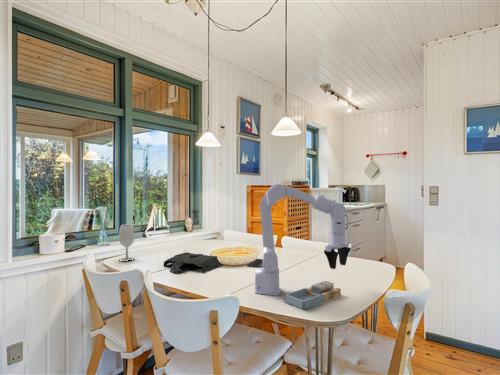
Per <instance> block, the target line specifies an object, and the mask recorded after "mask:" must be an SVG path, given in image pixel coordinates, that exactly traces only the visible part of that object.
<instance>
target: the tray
mask: <svg viewBox="0 0 500 375" xmlns="http://www.w3.org/2000/svg"><path fill="white" fill-rule="evenodd" d="M306 288H307V287H304V288H301V289H297V290H295V291H292V292H288V293H285V295H284V303H285V304H288V305H289V306H292V307H295V308H296V309H297V308H298V309H300V310H302V311H306V310H307V309H310V308H313V307H315V306H319V305H321V304H323V303H325V302H324V294H320V295H318V296H315V297H313V296H310V295H307V294H306Z"/></svg>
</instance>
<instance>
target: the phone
mask: <svg viewBox="0 0 500 375" xmlns="http://www.w3.org/2000/svg"><path fill="white" fill-rule="evenodd" d="M254 260H255V259H254ZM254 260H252V261H253V262H252V261H251V262H249V263H247V264H246V266H247V268H256V269H261V268H262V267H263V266H262V262H263V258H262V259H261V258H256V260H255V261H254Z"/></svg>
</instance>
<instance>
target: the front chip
mask: <svg viewBox="0 0 500 375" xmlns="http://www.w3.org/2000/svg"><path fill="white" fill-rule="evenodd" d="M311 287H312V293H313V294H316V295H320V294H322V293H324V292H327V289H326V285H323V284H320V282H317V283H314V284H311Z"/></svg>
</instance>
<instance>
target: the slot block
mask: <svg viewBox="0 0 500 375" xmlns="http://www.w3.org/2000/svg"><path fill="white" fill-rule="evenodd" d="M305 288H306V294H307V295H310V296H313V297H315V296H318V295H316V294H313V293H312V286H309V287H305ZM322 294H324V302H323V303H326V302H328V301H330V300H333V299H336V298H338V297H340V296H341V288H340V287H335V288H334V289H333V290H330V291H327V292H324V293H322Z"/></svg>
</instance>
